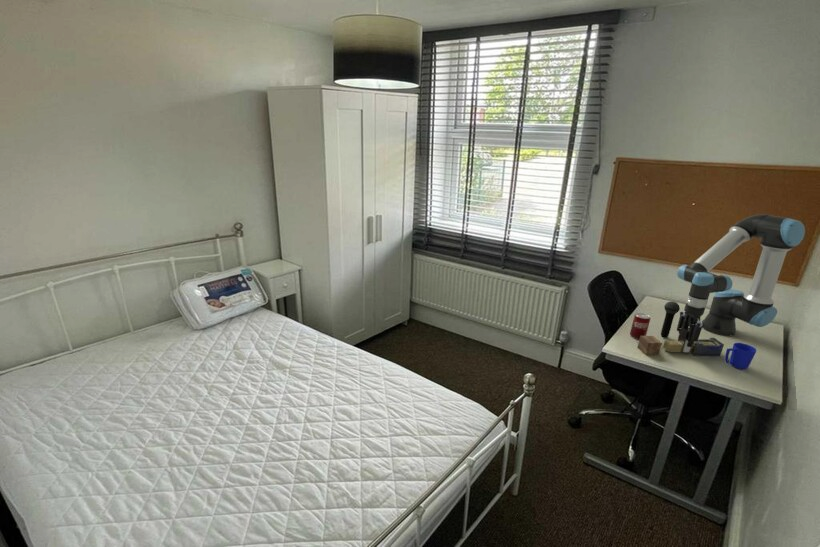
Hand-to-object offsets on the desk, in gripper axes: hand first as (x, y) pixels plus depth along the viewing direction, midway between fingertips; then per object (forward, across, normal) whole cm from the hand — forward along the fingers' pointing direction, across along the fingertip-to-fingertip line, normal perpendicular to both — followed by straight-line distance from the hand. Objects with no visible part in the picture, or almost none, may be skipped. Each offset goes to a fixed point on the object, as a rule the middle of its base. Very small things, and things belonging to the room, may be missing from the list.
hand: (682, 349), depth 193 cm
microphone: (+2, -15, 0) cm, 15 cm away
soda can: (+2, -15, -14) cm, 20 cm away
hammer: (0, 0, +4) cm, 4 cm away
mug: (+2, +12, +16) cm, 20 cm away
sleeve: (+2, 0, +10) cm, 10 cm away
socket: (+2, 0, -17) cm, 17 cm away
